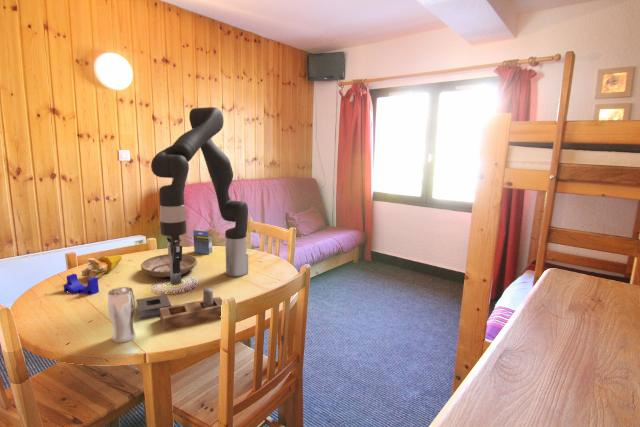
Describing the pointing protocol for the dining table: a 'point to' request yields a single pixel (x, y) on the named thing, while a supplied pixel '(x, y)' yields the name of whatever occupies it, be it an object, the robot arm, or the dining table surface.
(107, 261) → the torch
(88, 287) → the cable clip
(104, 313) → the dining table surface
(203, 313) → the rack
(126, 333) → the beer glass
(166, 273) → the ceramic bowl
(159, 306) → the socket block
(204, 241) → the label tape cartridge
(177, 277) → the round metal peg
